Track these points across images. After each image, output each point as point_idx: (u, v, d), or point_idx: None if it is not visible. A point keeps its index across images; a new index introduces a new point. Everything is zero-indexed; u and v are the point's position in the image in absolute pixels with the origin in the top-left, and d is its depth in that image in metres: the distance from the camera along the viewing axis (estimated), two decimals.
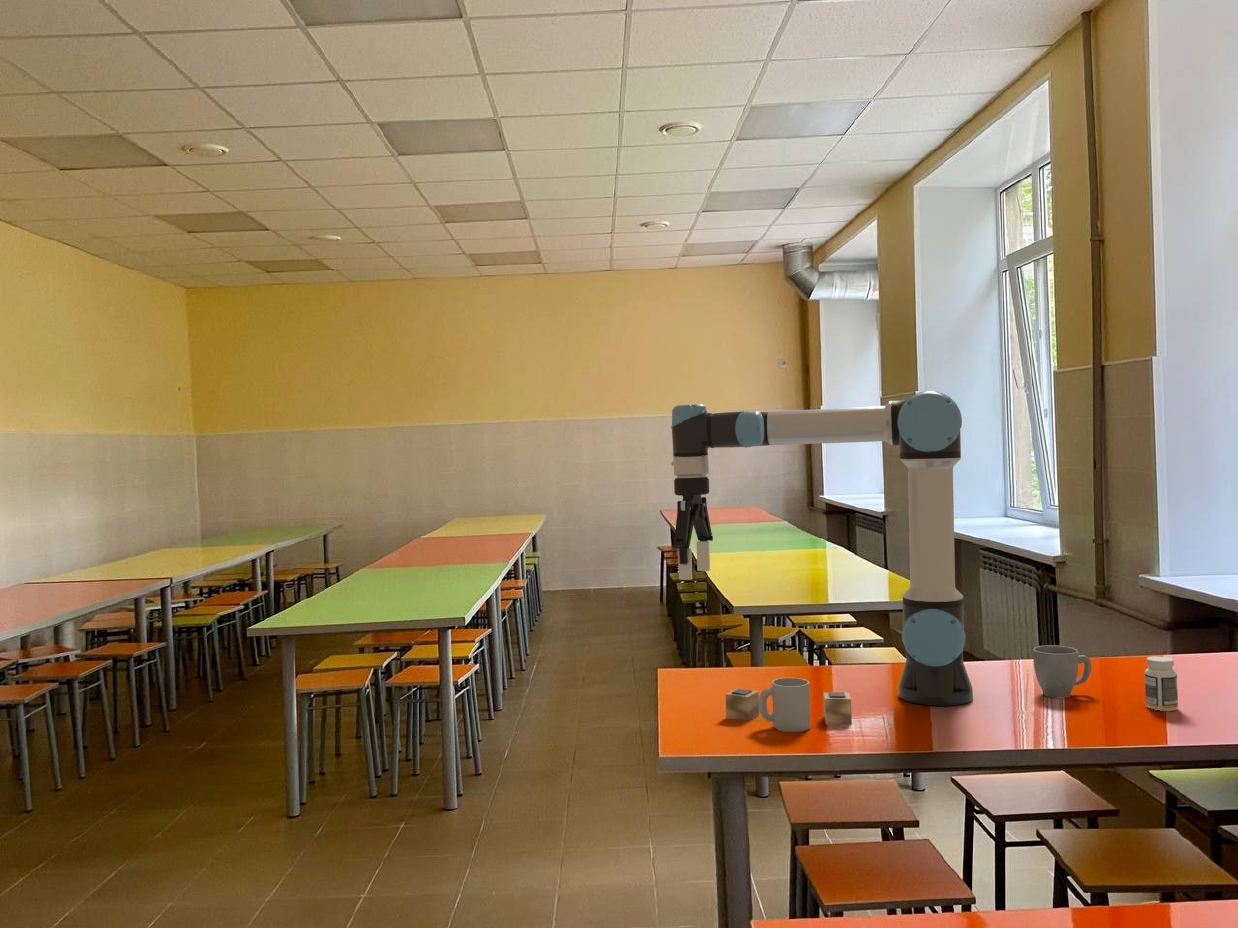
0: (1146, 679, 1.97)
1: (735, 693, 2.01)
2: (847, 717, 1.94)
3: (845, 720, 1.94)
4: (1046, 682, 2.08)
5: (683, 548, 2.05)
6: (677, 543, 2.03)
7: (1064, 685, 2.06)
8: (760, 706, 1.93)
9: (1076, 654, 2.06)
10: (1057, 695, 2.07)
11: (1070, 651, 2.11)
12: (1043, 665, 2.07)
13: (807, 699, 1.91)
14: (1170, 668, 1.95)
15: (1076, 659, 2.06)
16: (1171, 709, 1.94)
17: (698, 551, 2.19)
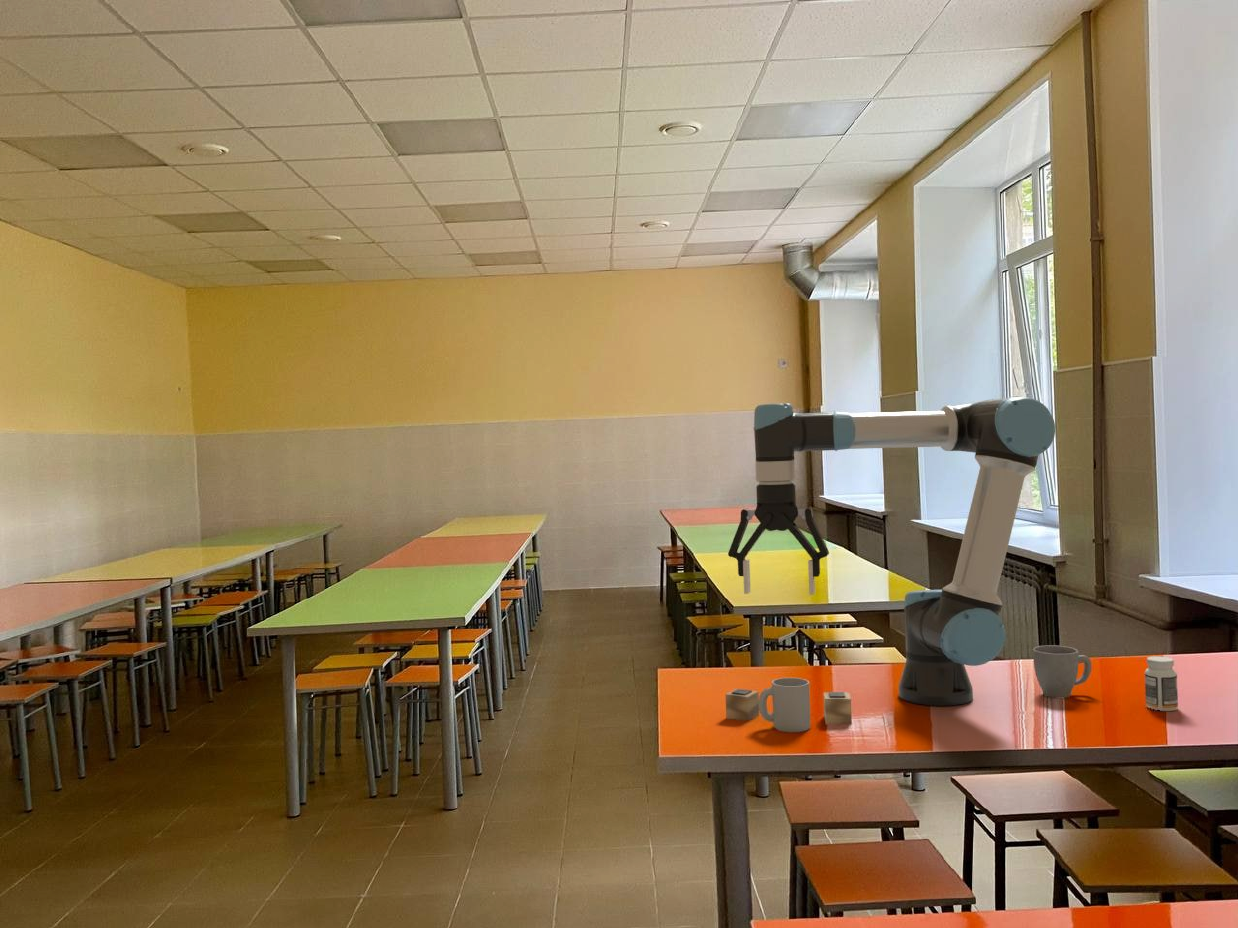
0: (1146, 679, 1.97)
1: (735, 693, 2.01)
2: (847, 717, 1.94)
3: (845, 720, 1.94)
4: (1046, 682, 2.08)
5: None
6: None
7: (1064, 685, 2.06)
8: (760, 706, 1.93)
9: (1076, 654, 2.06)
10: (1057, 695, 2.07)
11: (1070, 651, 2.11)
12: (1043, 665, 2.07)
13: (807, 699, 1.91)
14: (1170, 668, 1.95)
15: (1076, 659, 2.06)
16: (1171, 709, 1.94)
17: None
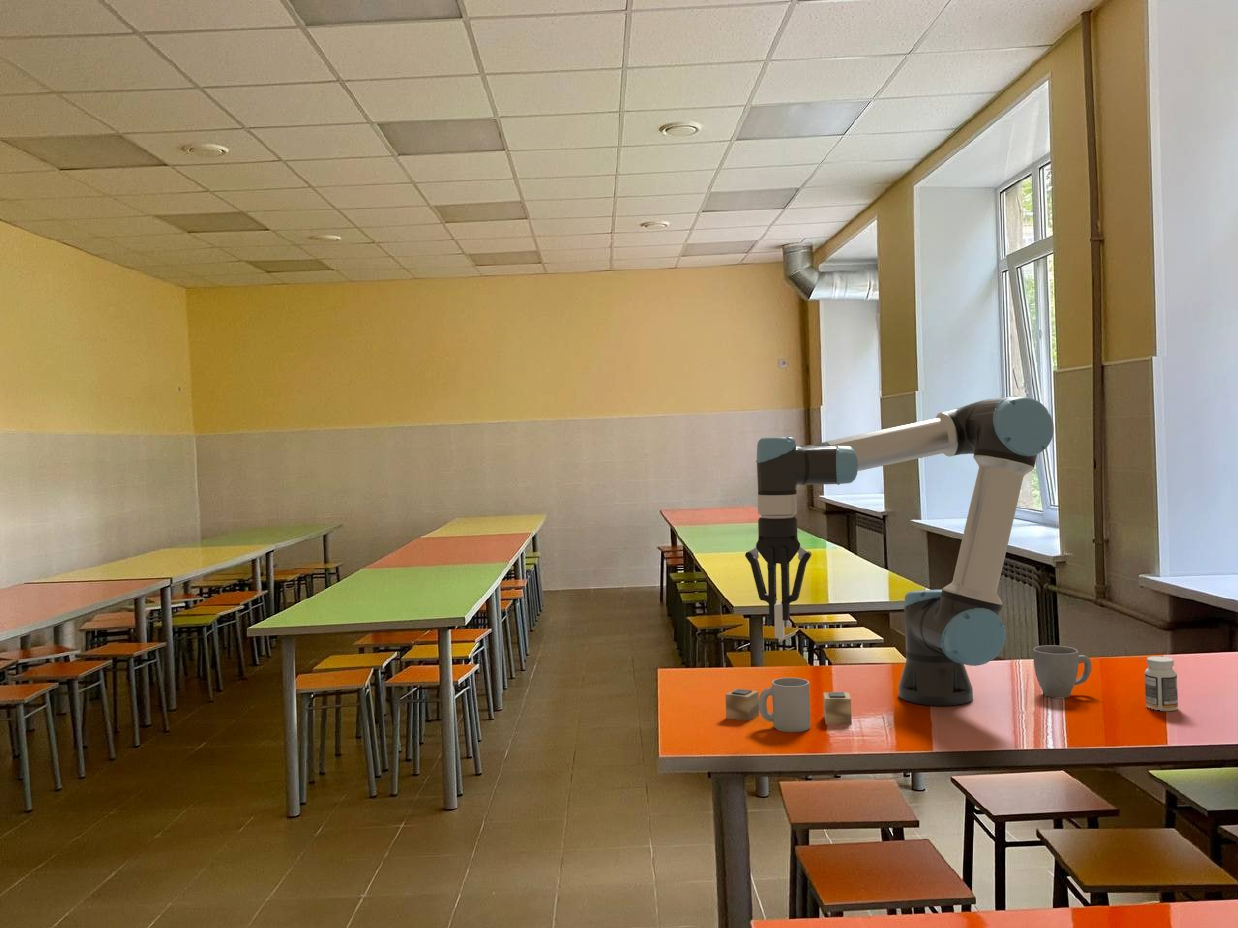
0: (1146, 679, 1.97)
1: (735, 693, 2.01)
2: (847, 717, 1.94)
3: (845, 720, 1.94)
4: (1046, 682, 2.08)
5: None
6: None
7: (1064, 685, 2.06)
8: (760, 706, 1.93)
9: (1076, 654, 2.06)
10: (1057, 695, 2.07)
11: (1070, 651, 2.11)
12: (1043, 665, 2.07)
13: (807, 699, 1.91)
14: (1170, 668, 1.95)
15: (1076, 659, 2.06)
16: (1171, 709, 1.94)
17: None
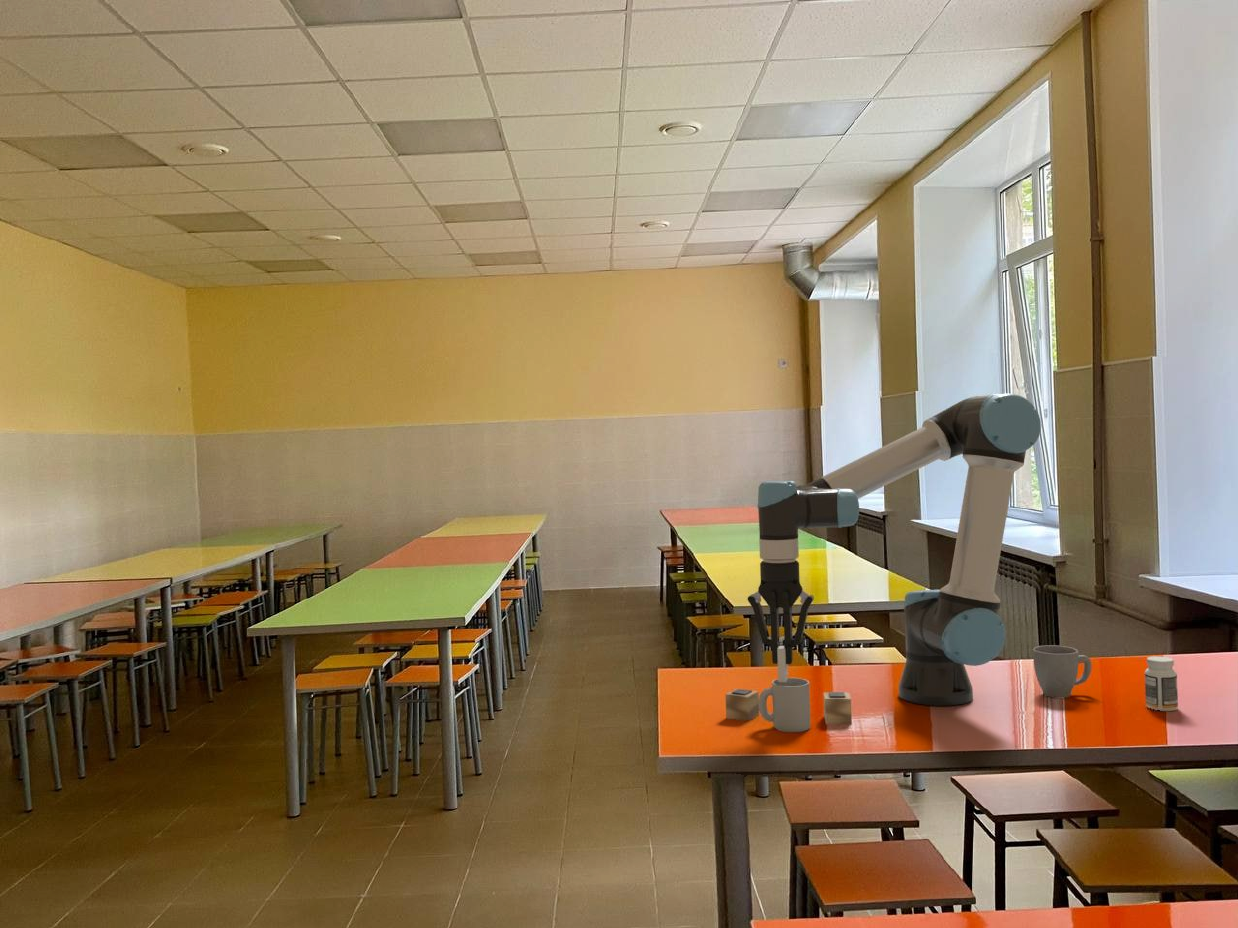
0: (1146, 679, 1.97)
1: (735, 693, 2.01)
2: (847, 717, 1.94)
3: (845, 720, 1.94)
4: (1046, 682, 2.08)
5: None
6: None
7: (1064, 685, 2.06)
8: (760, 706, 1.93)
9: (1076, 654, 2.06)
10: (1057, 695, 2.07)
11: (1070, 651, 2.11)
12: (1043, 665, 2.07)
13: (807, 699, 1.91)
14: (1170, 668, 1.95)
15: (1076, 659, 2.06)
16: (1171, 709, 1.94)
17: None
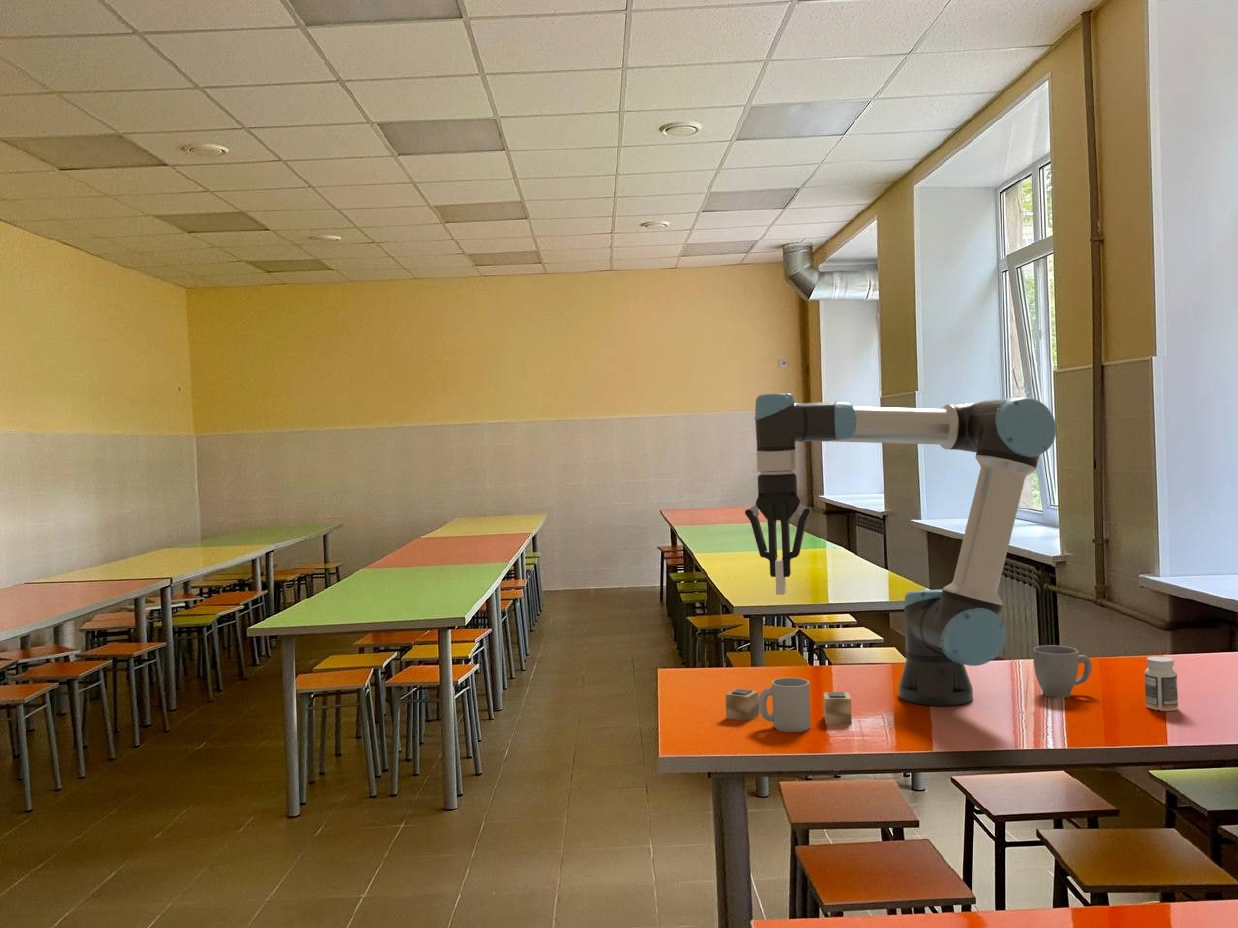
0: (1146, 679, 1.97)
1: (735, 693, 2.01)
2: (847, 717, 1.94)
3: (845, 720, 1.94)
4: (1046, 682, 2.08)
5: None
6: None
7: (1064, 685, 2.06)
8: (760, 706, 1.93)
9: (1076, 654, 2.06)
10: (1057, 695, 2.07)
11: (1070, 651, 2.11)
12: (1043, 665, 2.07)
13: (807, 699, 1.91)
14: (1170, 668, 1.95)
15: (1076, 659, 2.06)
16: (1171, 709, 1.94)
17: None
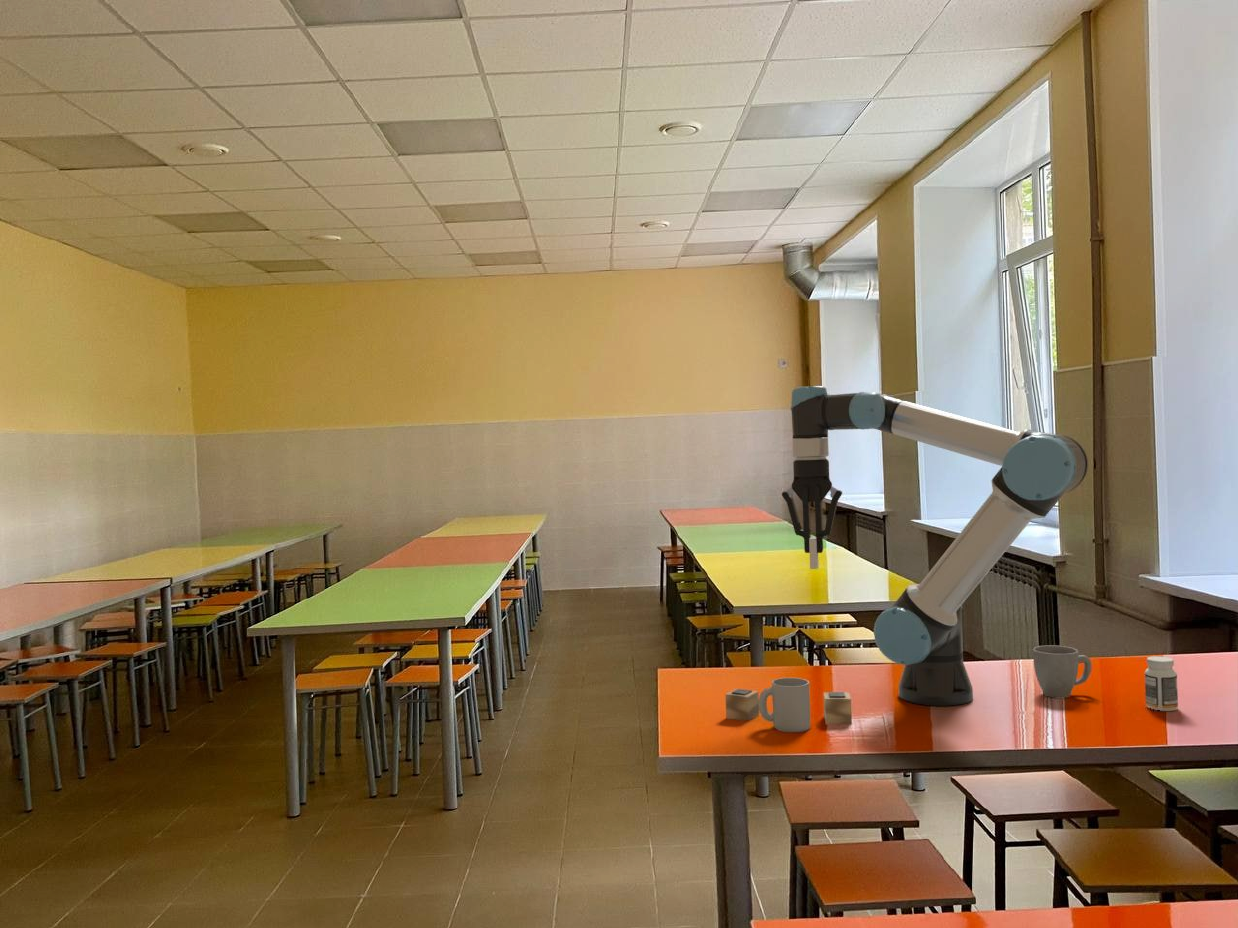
0: (1146, 679, 1.97)
1: (735, 693, 2.01)
2: (847, 717, 1.94)
3: (845, 720, 1.94)
4: (1046, 682, 2.08)
5: None
6: None
7: (1064, 685, 2.06)
8: (760, 706, 1.93)
9: (1076, 654, 2.06)
10: (1057, 695, 2.07)
11: (1070, 651, 2.11)
12: (1043, 665, 2.07)
13: (807, 699, 1.91)
14: (1170, 668, 1.95)
15: (1076, 659, 2.06)
16: (1171, 709, 1.94)
17: None
